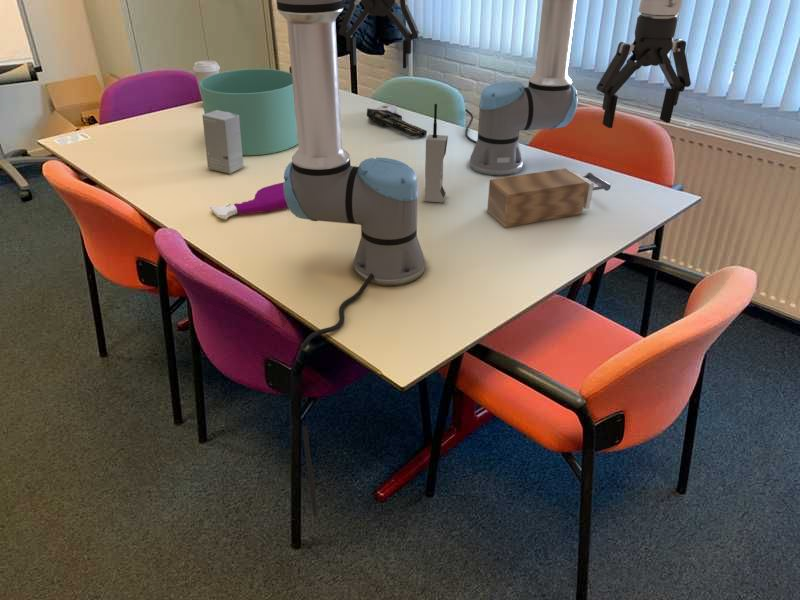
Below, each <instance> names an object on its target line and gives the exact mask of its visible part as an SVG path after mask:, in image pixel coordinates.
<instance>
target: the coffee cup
mask: <svg viewBox="0 0 800 600" xmlns="http://www.w3.org/2000/svg"><path fill="white" fill-rule="evenodd" d="M193 64H194V65H193V66H192V71H193V72H194V74H195V78H196V83H197V87H198V90H199V94H200V98H201V99H202V96H201V90H200V82H201V81H202V80H203V79H204V78H206V77H208V76H211V75H214V74H217V73H220V70H221V67H220V65H219V63H218V62H217V61H215V60H200V61H195V62H194V63H193Z"/></svg>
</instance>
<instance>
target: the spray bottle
mask: <svg viewBox="0 0 800 600" xmlns="http://www.w3.org/2000/svg"><path fill="white" fill-rule="evenodd" d="M284 182H285V181H283V182H278V183H275V184H271V185H268V186H264V187H261V188H260V189H258V190H257V191H256V192H255V195H254V198H253V199H249V200H248V201H243V202H241V203H234V204H233V205H231V203H230V202H228V203H227V204H224V205H222V206H221V205H216V206H214V205H210V207H209V208H210V210H211V212H212V213H213V214H214V215H216V217H218V218H220V219H222V220H227V219H228V218H229V217H231V216H234V215H237V214H238V215H239V214H240V215H241V214H253V213H269V212H275V211H280V210H283V209H286V208H287V209H288V205H287V203H286V199H285V195H284V188H283V183H284Z"/></svg>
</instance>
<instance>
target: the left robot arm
mask: <svg viewBox="0 0 800 600" xmlns="http://www.w3.org/2000/svg"><path fill="white" fill-rule="evenodd" d="M275 2H276V10H277V13H279V14H280V15H281V16H282V17H283V18H284V19H285V20H286V25H287V26H286V27H287V37H288V47H289V48H288V49H289V58H290V66H291V70H292V81H293V92H294V104H295V115H296V126H297V137H298V144H297V146H298V149H297V151H295V152H294V154H293V155H292V156H291V161H290V162H289V163H288V164H287V166H286V167H285V170H284V173H283V180H284V181H283V182H284V183H283V182H282V183H283V188H284V195H285V199H286V203H287V205H288V207H287V209H289V211H290V212H291V213H292V215H294V217H296V218H298V219H302V220H309V221H312V222H329V223H339V224H349V225H359V226H360V239H359V242H358V247H357V249H356V252H355V256H354V259H353V270H354V273H355V275H356V276H357V277H358V278H359V279H360V280H362V281H364V282H363V284H361V287H360V288H359V289H358V291H356V293H354V295H352V296H350V297H349V298H347V299H346V300H344V301H343V302H342V303H341V304H340V306H339V307H338V309H339V310H338V316H339V320H338V321H337V323H335V324H334V325H331V326H329V327H325V328H321V329H318V330H316V331H313V332H311V333H310V334H309V335H308V336H306V338H305V339H304V340H303V342H302V344H301V346H300V349H302V350H305V349H306V348H307V347H308V345H309V344H310V342H312V340H314V339H315V338H317V337H318V336H321V335H325V334H329V333H332V332H335V331H337V330H339V329H340V328H341V327H342V326H343V325H344V322H345V309H346V307H347V306H348V305H349V304H351V303H353V302H355V301H356V300H357V299H359V298H360V297H361V296H362V295H363V293H364V292H365V291H366V289H367V287H369V284H370V285H371V284H372V285H376V286H382V287H395V286H402V285H406V284H410V283H413V282H415V281H417V280H418V279H420V278H421V276H423V274H424V273H425V270H426V261H425V255H424V252H423V250H422V247H421V244H420V241H419V238H418V198H419V189H418V177H417V173H416V171H415V170H414V169H413V168H412V167H411V166H409V164H407V163H405V162H403V161H400V160H398V159H393V158H389V157H376V158H374V157H369V158H366V159H364V160H362V161H361V162H360V163H359V164H358V166H355V165H354V166H353V165H351V155H350V153H349V152H348V151H347V150H345V149H344V148H343V142H342V141H343V140H342V121H341V104H340V103H341V101H340V84H339V83H340V82H339V81H340V80H339V65H338V64H339V63H338V43H337V28H336V27H337V25H336V23H337V22H336V20H337V18H338V17H339V15H340V14H342V12H343V10H344V0H276V1H275ZM360 3H361V4H362V6H363V7H364V9H363V10H362V12H361V13H360V15H359V16H357V19H356V20H355V21H354V23H353V24H352V25H351V27H350V28H349V30H348V27H349V25H350V22H351V20H352V18H353V16H354V13H355V11H356V9H357V6H358V5H359V4H360ZM395 4H397V6H398V7H400V10H401V13H402V14H403V17H404V19H405V22H406V24H407V26H408V27H407V26H406V25H405V23H404V22H403V20H402V19H401V18H400V17H399V16H398V14H397V12H396V11H395V9H394V8H393V7H394V6H395ZM346 10H347V11H346V13H345V15H344V18H343V20H342V23H341V25H340V28H339V29H338V35H339V36H342V37H345V41H346V43H345V44H346V51H347V52H350V66H353V67H354V66H356V65H357V37H356V36H354V35H355V33H356V31H357V30H358V29H359V27H360V26H361V25H362V23H363V22H364V21H365V19H367V17H368V16H369V15H370V16H371V17H377V16H379V17H385V16H387V18H388V19H390V20H391V21H392V23H393V24H394V26H395V27H396V28H397V30H398V31H399V32H400V33H401V35H402V36H403V37H404V39H403V40H402V69H407V68H408V67H409V55H411V54H412V52H413V40H415V39H417V38H419V36H420V35H421V33H420V31H419V29H418V26H417V24H416V22H415V19H414V17H413V14H412V13H411V10H410V8H409V6H408V0H349V6H348V8H347V9H346ZM408 28H409V29H408ZM301 429H302V439H303V445H304V453H305V461H306V470H307V476H308V484H309V492H310V501H311V510H312V516H313V517H316V516H318V507H317V499H316V497H317V496H316V488H315V482H314V481H315V480H314V471H313V465H312V457H311V456H312V455H311V449H310V441H309V432H308V425H302V427H301Z"/></svg>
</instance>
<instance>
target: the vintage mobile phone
mask: <svg viewBox="0 0 800 600" xmlns="http://www.w3.org/2000/svg"><path fill="white" fill-rule="evenodd" d="M433 105H434V106H433V107H434V109H433V110H434V111H433V126H432V134H428V135H427V137H426V139H425V161H424V163H425V165H424V166H425V167H424V171H425V172H424V201H425V202H431V203H441V204H442V203H444V202H445V199H446V196H447V195H446V190H445V189H444V186H443V179H444V159H445V156H446V155H447V147H448V139H449V135H443V134H438V133H437V131H438V130H437V129H438V123H437V121H438V120H437V119H438V103H434V104H433Z"/></svg>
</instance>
